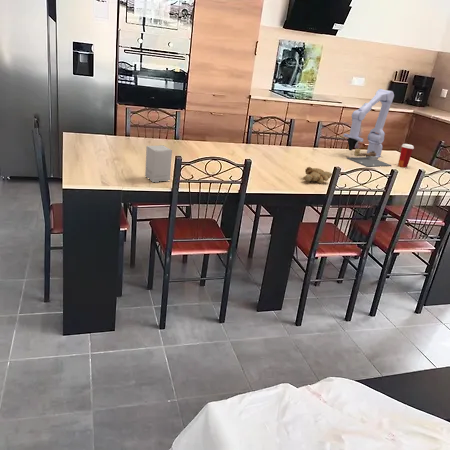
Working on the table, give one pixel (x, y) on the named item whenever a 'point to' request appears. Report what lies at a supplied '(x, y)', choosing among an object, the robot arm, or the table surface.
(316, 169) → the ginger root
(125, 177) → the table surface
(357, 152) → the lever
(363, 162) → the plate
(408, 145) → the paper cup
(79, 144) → the table surface
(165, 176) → the supplement box
